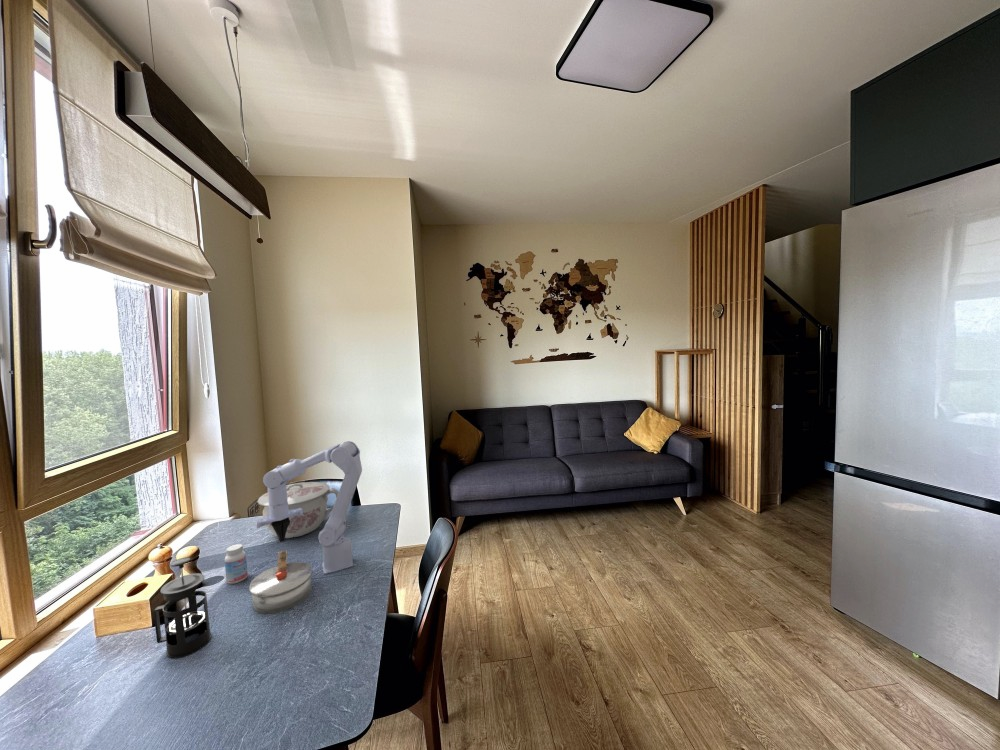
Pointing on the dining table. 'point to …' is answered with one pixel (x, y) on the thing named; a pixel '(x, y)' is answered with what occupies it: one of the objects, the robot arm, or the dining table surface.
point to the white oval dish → (282, 600)
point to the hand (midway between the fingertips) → (281, 540)
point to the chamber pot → (303, 507)
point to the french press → (183, 614)
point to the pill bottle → (235, 564)
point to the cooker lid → (280, 578)
